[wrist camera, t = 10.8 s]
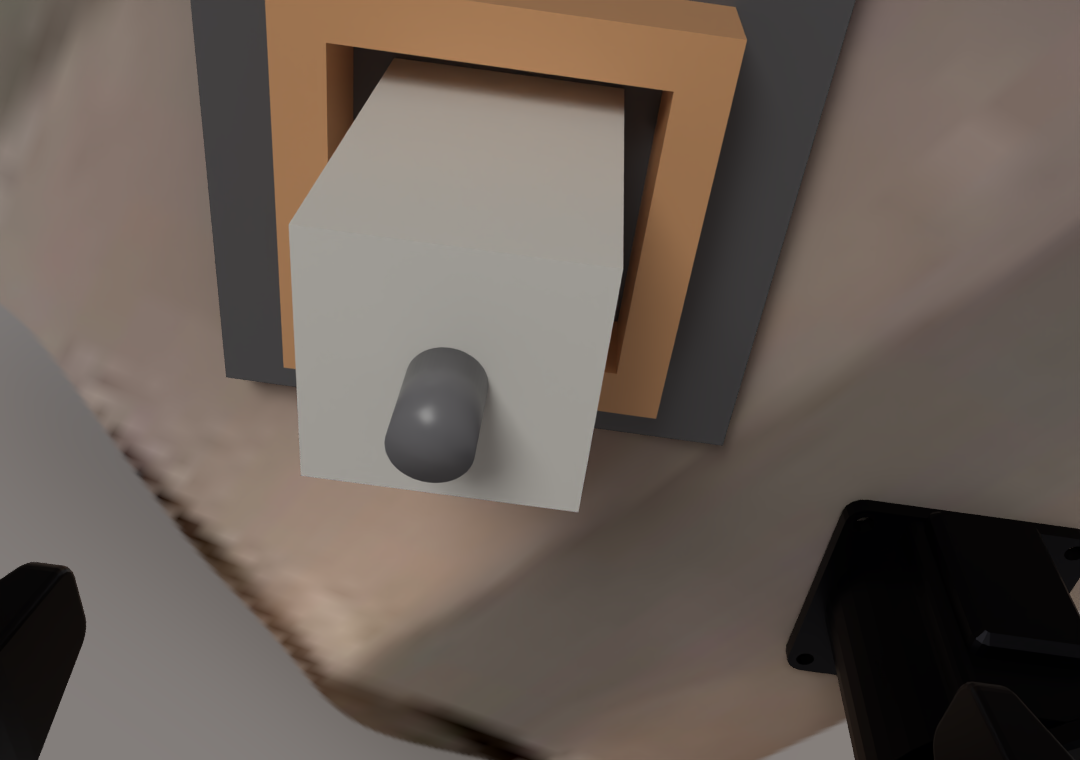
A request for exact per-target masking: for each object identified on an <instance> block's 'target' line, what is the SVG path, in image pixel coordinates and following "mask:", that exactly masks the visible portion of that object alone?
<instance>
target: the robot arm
mask: <svg viewBox="0 0 1080 760" xmlns="http://www.w3.org/2000/svg"><path fill="white" fill-rule="evenodd" d="M866 517H868V519H866V520H864V521H857V520H858V519H860V518H866ZM1072 547H1074V548H1072ZM1069 548H1071V549H1069ZM1079 578H1080V529H1076V528H1068V527H1061V526H1054V525H1046V524H1039V523H1032V522H1025V521H1017V520H1010V519H1003V518H996V517H988V516H981V515H974V514H966V513H959V512H952V511H945V510H937V509H930V508H923V507H915V506H908V505H901V504H894V503H886V502H879V501H872V500H858V501H854V502H852V503H850V504H849V505H847V506H846V507H845V508H844V510H843V511H842V514H841V516H840V518H839V521H838V523H837V526H836V528H835V530H834V533H833V535H832V537H831V540H830V542H829V545H828V547H827V549H826V552H825V554H824V557H823V559H822V561H821V564H820V566H819V569H818V571H817V573H816V576H815V578H814V581H813V583H812V585H811V588H810V590H809V593H808V595H807V597H806V600H805V602H804V605H803V607H802V609H801V612H800V614H799V617H798V619H797V621H796V624H795V626H794V629H793V631H792V633H791V636H790V638H789V641H788V643H787V645H786V654H787V660H788V663H789V665H790V666H792V667H793V668H795V669H799V670H805V671H812V672H819V673H827V674H834V675H837V677H838V682H839V687H840V691H841V696H842V701H843V705H844V710H845V715H846V719H847V724H848V729H849V733H850V738H851V743H852V747H853V752H854V757H855V760H1080V614H1079V612H1078V610H1077V608H1076V606H1075V604H1074V602H1073V600H1072V598H1071V596H1070V594H1069V593H1070V592H1071V590H1072V589H1073V587H1074V586H1075V584H1076V583H1077V581H1078V580H1079ZM85 632H86V618H85V614H84V610H83V606H82V602H81V599H80V595H79V591H78V587H77V584H76V580H75V576H74V574H73V572H72V571H71V570H70V569H69V568H68V567H66V566H62V565H53V564H47V563H39V562H30V563H27V564H24V565H22V566H20V567H18V568H17V569H15V570H14V571H12V572H11V573H9V574H8V575H6V576H5V577H4V578H2V579H0V760H38V758H39V756H40V753H41V750H42V748H43V745H44V743H45V740H46V738H47V735H48V732H49V730H50V727H51V724H52V722H53V719H54V717H55V714H56V712H57V709H58V706H59V704H60V701H61V699H62V696H63V693H64V691H65V688H66V686H67V683H68V680H69V678H70V675H71V673H72V670H73V667H74V665H75V662H76V660H77V657H78V654H79V651H80V649H81V647H82V644H83V641H84V637H85Z"/></svg>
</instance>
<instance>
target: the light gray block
mask: <svg viewBox="0 0 1080 760" xmlns="http://www.w3.org/2000/svg"><path fill="white" fill-rule="evenodd" d="M623 222H624V89H622V88H614V87H607V86H600V85H592V84H585V83H577V82H570V81H562V80H555V79H548V78H540V77H533V76H525V75H518V74H510V73H503V72H496V71H488V70H481V69H473V68H466V67H458V66H451V65H444V64H436V63H429V62H421V61H414V60H406V59H399V58H394V59H393V60H392V62H391V64H390V65H389V67H388V68H387V70H386V72H385V73H384V75H383V76H382V78H381V79H380V81H379V83H378V84H377V86H376V87H375V89H374V90H373V92H372V94H371V95H370V97H369V98H368V100H367V101H366V103H365V105H364V106H363V108H362V109H361V111H360V113H359V114H358V116H357V117H356V119H355V120H354V122H353V124H352V125H351V127H350V128H349V130H348V131H347V133H346V135H345V136H344V138H343V139H342V141H341V142H340V144H339V146H338V147H337V149H336V150H335V152H334V154H333V155H332V157H331V158H330V160H329V161H328V163H327V165H326V166H325V168H324V169H323V171H322V172H321V174H320V176H319V177H318V179H317V180H316V182H315V184H314V185H313V187H312V188H311V190H310V191H309V193H308V195H307V196H306V198H305V199H304V201H303V202H302V204H301V206H300V207H299V209H298V210H297V212H296V213H295V215H294V217H293V218H292V220H291V221H290V223H289V243H290V263H291V284H292V304H293V324H294V345H295V365H296V385H297V406H298V426H299V446H300V467H301V476H308V477H315V478H323V479H330V480H338V481H345V482H353V483H360V484H368V485H376V486H383V487H391V488H398V489H406V490H413V491H421V492H428V493H436V494H444V495H451V496H459V497H466V498H474V499H481V500H489V501H496V502H504V503H512V504H519V505H527V506H534V507H542V508H549V509H557V510H564V511H572V512H578V511H579V506H580V501H581V495H582V490H583V484H584V479H585V473H586V468H587V463H588V457H589V452H590V446H591V441H592V436H593V430H594V425H595V419H596V414H597V408H598V403H599V398H600V392H601V387H602V381H603V376H604V370H605V365H606V360H607V354H608V349H609V343H610V338H611V333H612V327H613V322H614V316H615V311H616V305H617V300H618V295H619V289H620V284H621V278H622V273H623Z"/></svg>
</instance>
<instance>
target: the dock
mask: <svg viewBox="0 0 1080 760" xmlns="http://www.w3.org/2000/svg"><path fill="white" fill-rule="evenodd" d="M855 1H856V0H191V11H192V21H193V32H194V42H195V53H196V63H197V74H198V84H199V95H200V106H201V116H202V127H203V137H204V148H205V158H206V169H207V179H208V190H209V200H210V211H211V222H212V232H213V243H214V253H215V264H216V274H217V285H218V295H219V306H220V317H221V327H222V338H223V348H224V359H225V369H226V377H228V378H235V379H243V380H250V381H257V382H264V383H272V384H279V385H286V386H294V387H297V385H296V365H295V345H294V324H293V304H292V284H291V263H290V243H289V223H290V221H291V220H292V218H293V217H294V215H295V213H296V212H297V210H298V209H299V207H300V206H301V204H302V202H303V201H304V199H305V198H306V196H307V195H308V193H309V191H310V190H311V188H312V187H313V185H314V184H315V182H316V180H317V179H318V177H319V176H320V174H321V172H322V171H323V169H324V168H325V166H326V165H327V163H328V161H329V160H330V158H331V157H332V155H333V154H334V152H335V150H336V149H337V147H338V146H339V144H340V142H341V141H342V139H343V138H344V136H345V135H346V133H347V131H348V130H349V128H350V127H351V125H352V124H353V122H354V120H355V119H356V117H357V116H358V114H359V113H360V111H361V109H362V108H363V106H364V105H365V103H366V101H367V100H368V98H369V97H370V95H371V94H372V92H373V90H374V89H375V87H376V86H377V84H378V83H379V81H380V79H381V78H382V76H383V75H384V73H385V72H386V70H387V68H388V67H389V65H390V64H391V62H392V60H393V59H394V58H399V59H406V60H414V61H421V62H429V63H436V64H444V65H451V66H458V67H466V68H473V69H481V70H488V71H496V72H503V73H510V74H518V75H525V76H533V77H540V78H548V79H555V80H562V81H570V82H577V83H585V84H592V85H600V86H607V87H614V88H622V89H624V222H623V273H622V278H621V284H620V289H619V295H618V300H617V305H616V311H615V316H614V322H613V327H612V333H611V338H610V343H609V349H608V354H607V360H606V365H605V370H604V376H603V381H602V387H601V392H600V398H599V403H598V408H597V414H596V419H595V425H594V428H598V429H606V430H613V431H620V432H627V433H635V434H642V435H649V436H656V437H664V438H671V439H678V440H686V441H693V442H700V443H707V444H715V445H722V446H723V442H724V439H725V436H726V432H727V429H728V426H729V422H730V419H731V415H732V412H733V409H734V405H735V402H736V399H737V395H738V392H739V389H740V385H741V382H742V379H743V375H744V372H745V369H746V365H747V362H748V359H749V355H750V352H751V349H752V345H753V342H754V339H755V335H756V332H757V328H758V325H759V322H760V318H761V315H762V312H763V308H764V305H765V302H766V298H767V295H768V292H769V288H770V285H771V282H772V278H773V275H774V272H775V268H776V265H777V262H778V258H779V255H780V251H781V248H782V245H783V241H784V238H785V235H786V231H787V228H788V225H789V221H790V218H791V215H792V211H793V208H794V205H795V201H796V198H797V195H798V191H799V188H800V185H801V181H802V178H803V175H804V171H805V168H806V164H807V161H808V158H809V154H810V151H811V148H812V144H813V141H814V138H815V134H816V131H817V128H818V124H819V121H820V118H821V114H822V111H823V108H824V104H825V101H826V98H827V94H828V91H829V88H830V84H831V81H832V77H833V74H834V71H835V67H836V64H837V61H838V57H839V54H840V51H841V47H842V44H843V41H844V37H845V34H846V31H847V27H848V24H849V21H850V17H851V14H852V11H853V7H854V4H855Z"/></svg>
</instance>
